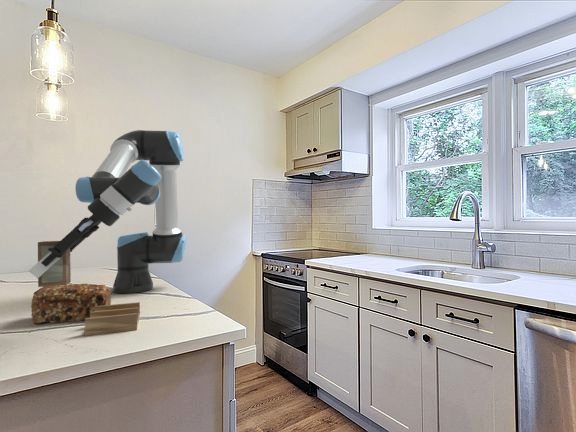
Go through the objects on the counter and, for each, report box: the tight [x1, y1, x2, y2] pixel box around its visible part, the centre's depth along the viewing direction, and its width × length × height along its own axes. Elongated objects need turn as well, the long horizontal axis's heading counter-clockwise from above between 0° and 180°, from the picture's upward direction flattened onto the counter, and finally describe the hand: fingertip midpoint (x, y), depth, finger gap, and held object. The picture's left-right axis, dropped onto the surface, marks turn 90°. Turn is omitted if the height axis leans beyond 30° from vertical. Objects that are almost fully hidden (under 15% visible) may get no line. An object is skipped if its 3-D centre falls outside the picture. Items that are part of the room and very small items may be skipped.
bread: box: [30, 283, 112, 325], centre depth 102 cm, size 19×11×10 cm, turn 107°
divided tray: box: [84, 301, 141, 337], centre depth 95 cm, size 15×12×4 cm
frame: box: [37, 240, 72, 288], centre depth 87 cm, size 4×6×11 cm
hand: (37, 272), depth 86 cm, fingers closed on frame, 4 cm apart
